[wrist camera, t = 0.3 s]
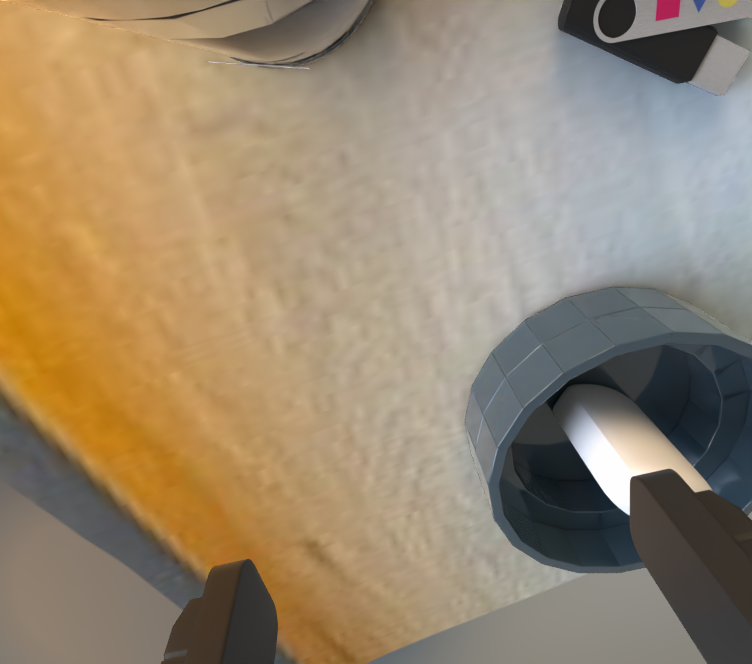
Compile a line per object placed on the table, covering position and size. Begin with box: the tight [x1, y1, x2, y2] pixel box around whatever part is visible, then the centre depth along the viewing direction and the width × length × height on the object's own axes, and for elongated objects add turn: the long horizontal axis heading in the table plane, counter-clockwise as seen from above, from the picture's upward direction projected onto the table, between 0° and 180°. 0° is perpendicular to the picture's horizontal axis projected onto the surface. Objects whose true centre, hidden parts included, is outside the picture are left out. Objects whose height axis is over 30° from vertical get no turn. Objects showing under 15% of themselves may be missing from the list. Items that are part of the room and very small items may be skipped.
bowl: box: [465, 287, 752, 573], centre depth 28 cm, size 16×16×6 cm
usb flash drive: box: [558, 0, 752, 96], centre depth 21 cm, size 9×5×1 cm, turn 71°
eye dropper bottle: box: [553, 384, 712, 516], centre depth 25 cm, size 4×6×12 cm
